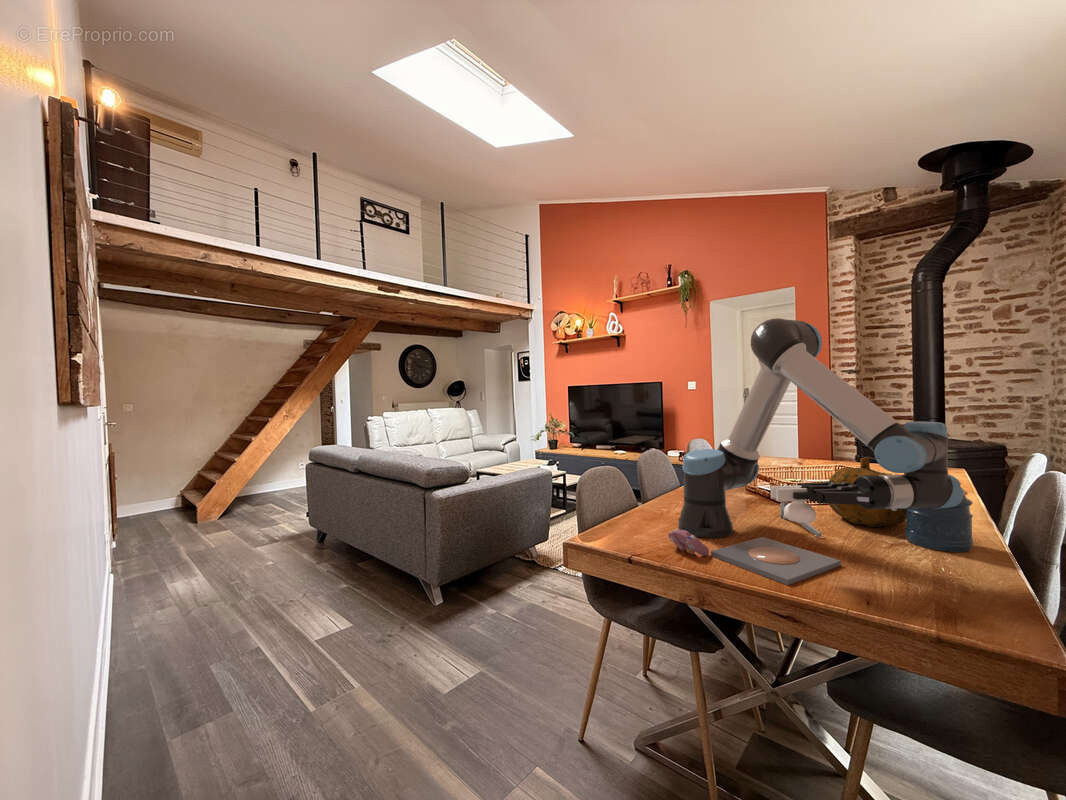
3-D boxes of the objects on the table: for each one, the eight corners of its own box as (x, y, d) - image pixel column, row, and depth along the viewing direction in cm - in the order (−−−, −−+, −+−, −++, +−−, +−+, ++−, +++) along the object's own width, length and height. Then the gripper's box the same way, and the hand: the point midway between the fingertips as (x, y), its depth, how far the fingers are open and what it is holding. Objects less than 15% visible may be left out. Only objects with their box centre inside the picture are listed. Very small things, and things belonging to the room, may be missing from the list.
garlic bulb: (805, 517, 105) (802, 483, 105) (823, 522, 99) (820, 486, 99) (778, 518, 105) (776, 484, 105) (795, 524, 99) (792, 487, 99)
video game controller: (672, 552, 120) (662, 531, 118) (684, 542, 122) (674, 521, 120) (700, 564, 111) (689, 542, 110) (712, 553, 113) (702, 531, 111)
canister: (987, 550, 110) (987, 479, 110) (944, 555, 108) (943, 483, 108) (932, 534, 123) (931, 470, 123) (892, 538, 121) (891, 473, 121)
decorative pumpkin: (841, 528, 127) (841, 458, 129) (818, 514, 148) (818, 454, 149) (927, 535, 122) (926, 462, 123) (890, 520, 142) (890, 457, 143)
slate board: (710, 555, 112) (710, 550, 112) (762, 541, 122) (762, 536, 122) (787, 585, 95) (787, 578, 95) (841, 565, 104) (841, 559, 104)
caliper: (779, 518, 143) (779, 499, 142) (783, 518, 143) (782, 499, 142) (820, 539, 122) (820, 517, 122) (824, 539, 122) (824, 517, 122)
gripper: (906, 517, 94) (791, 519, 95) (858, 500, 108) (759, 501, 109) (906, 482, 93) (791, 484, 94) (858, 469, 108) (759, 471, 109)
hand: (774, 493), depth 102 cm, fingers closed on garlic bulb, 2 cm apart
